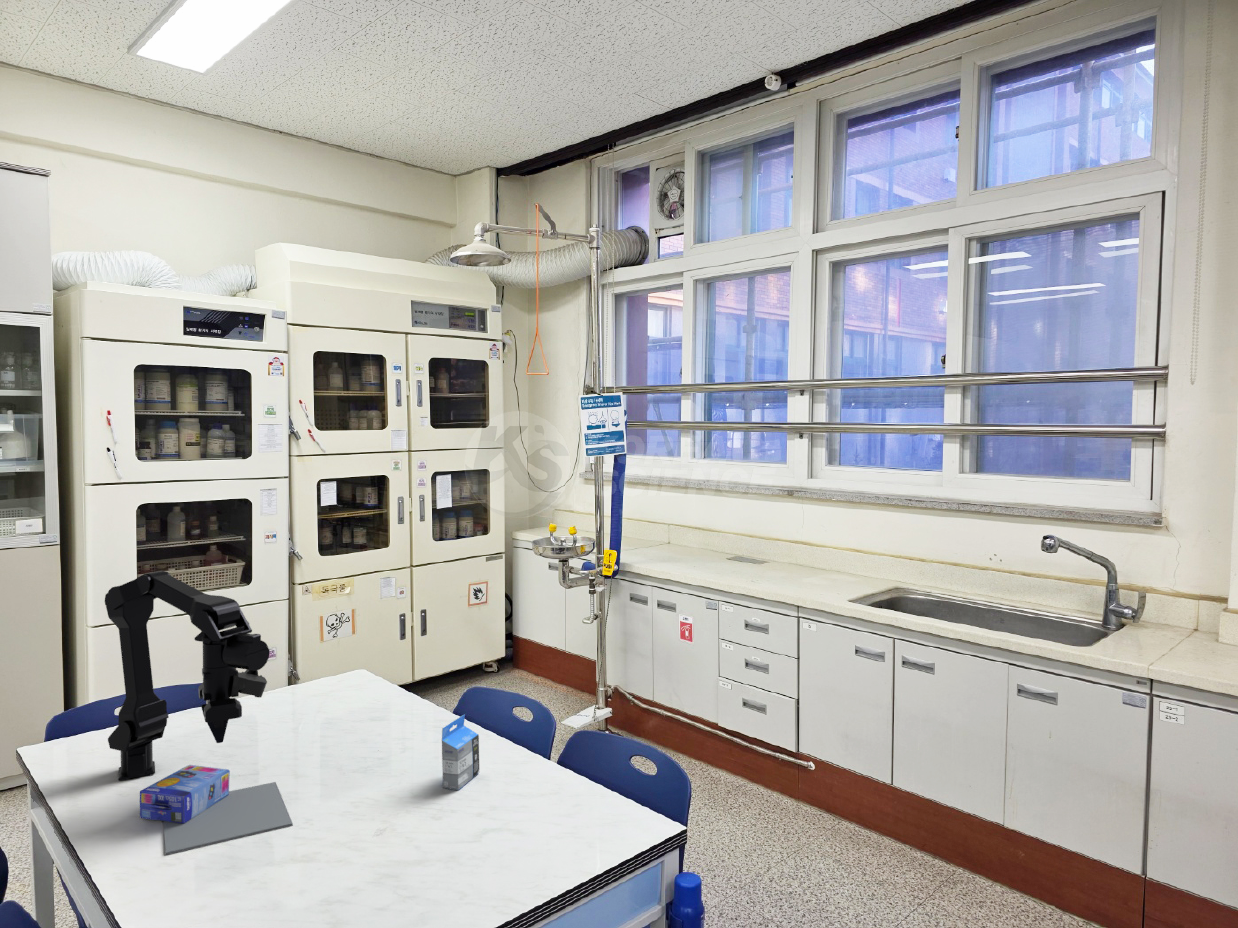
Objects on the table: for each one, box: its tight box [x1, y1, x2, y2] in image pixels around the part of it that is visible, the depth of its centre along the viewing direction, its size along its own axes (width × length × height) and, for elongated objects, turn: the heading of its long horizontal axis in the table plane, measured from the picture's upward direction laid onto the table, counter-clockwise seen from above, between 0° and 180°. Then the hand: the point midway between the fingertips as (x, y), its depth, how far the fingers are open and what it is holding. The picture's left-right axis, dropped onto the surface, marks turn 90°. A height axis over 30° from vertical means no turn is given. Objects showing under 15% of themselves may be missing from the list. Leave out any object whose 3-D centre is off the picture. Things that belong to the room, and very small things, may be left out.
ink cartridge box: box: [139, 764, 231, 824], centre depth 148 cm, size 10×6×14 cm
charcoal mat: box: [162, 781, 293, 856], centre depth 147 cm, size 20×20×1 cm
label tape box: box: [441, 713, 480, 791], centre depth 163 cm, size 9×4×12 cm, turn 161°
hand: (219, 742), depth 156 cm, fingers closed
